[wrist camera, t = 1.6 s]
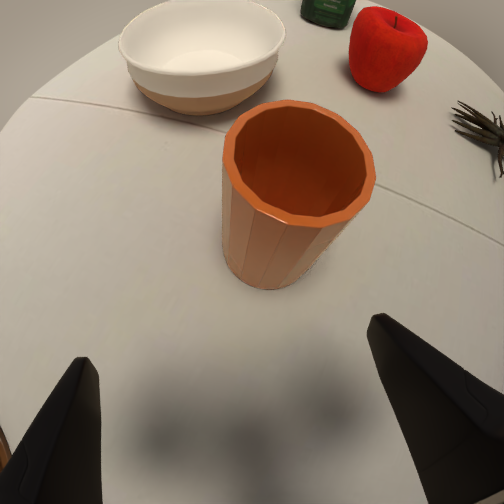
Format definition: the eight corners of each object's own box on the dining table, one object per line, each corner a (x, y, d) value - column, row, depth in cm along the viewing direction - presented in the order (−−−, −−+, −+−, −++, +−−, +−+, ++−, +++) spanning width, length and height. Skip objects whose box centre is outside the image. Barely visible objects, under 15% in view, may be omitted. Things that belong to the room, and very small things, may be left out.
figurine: (456, 73, 33) (544, 130, 30) (442, 99, 38) (527, 150, 35) (460, 133, 28) (560, 200, 25) (440, 161, 33) (536, 219, 30)
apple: (388, 67, 36) (417, 10, 26) (408, 110, 33) (447, 50, 23) (330, 55, 35) (352, -9, 25) (344, 98, 32) (375, 26, 22)
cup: (328, 250, 26) (400, 170, 14) (265, 308, 24) (305, 261, 12) (269, 190, 27) (299, 83, 16) (204, 241, 25) (191, 144, 14)
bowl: (224, 33, 35) (227, -15, 27) (304, 98, 32) (321, 42, 24) (113, 77, 31) (98, 27, 23) (173, 161, 28) (160, 100, 20)
